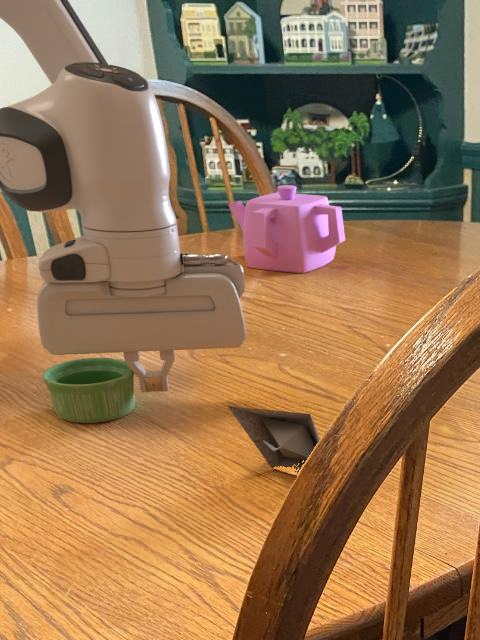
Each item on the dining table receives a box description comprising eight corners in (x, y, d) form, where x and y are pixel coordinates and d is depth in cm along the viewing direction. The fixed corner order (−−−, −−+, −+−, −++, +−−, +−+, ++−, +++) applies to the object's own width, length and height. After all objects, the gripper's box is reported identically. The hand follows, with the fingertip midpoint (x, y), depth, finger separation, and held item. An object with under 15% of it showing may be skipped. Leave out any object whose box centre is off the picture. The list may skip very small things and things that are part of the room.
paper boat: (369, 448, 87) (350, 462, 78) (332, 501, 89) (310, 520, 80) (265, 372, 86) (235, 377, 77) (230, 427, 88) (196, 438, 79)
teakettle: (259, 277, 148) (252, 195, 141) (230, 256, 161) (223, 180, 154) (355, 269, 155) (353, 191, 148) (321, 249, 167) (317, 176, 161)
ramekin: (134, 424, 93) (127, 383, 91) (43, 428, 92) (33, 386, 90) (145, 394, 101) (138, 356, 99) (60, 397, 100) (52, 358, 97)
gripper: (240, 246, 94) (253, 376, 101) (31, 250, 90) (59, 385, 97) (242, 259, 89) (255, 395, 96) (20, 264, 85) (51, 405, 92)
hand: (155, 390), depth 97 cm, fingers closed
